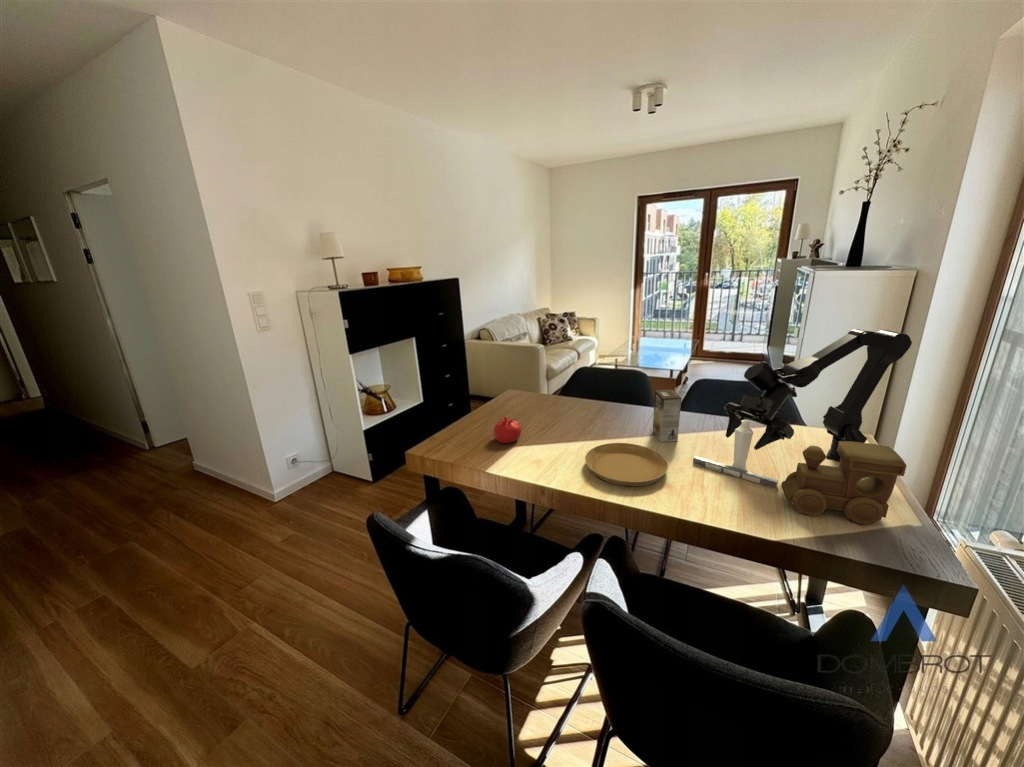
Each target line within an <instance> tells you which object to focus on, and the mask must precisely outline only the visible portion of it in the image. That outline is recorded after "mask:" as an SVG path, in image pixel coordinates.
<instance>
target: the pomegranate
mask: <svg viewBox="0 0 1024 767" xmlns="http://www.w3.org/2000/svg"><path fill="white" fill-rule="evenodd" d="M509 418H510V417H508V416H503V419H502V418H499V421H497V423H496V424H495V425H494V428H493V436H494V438H495V440H496V441H497V442H499V443H501V444H510V443H513V442H516V441H517V440H519V439H520V436H521V433H522V427H521V425H520V423H519V422H518V421H516V419H514V418H511V419H509Z"/></svg>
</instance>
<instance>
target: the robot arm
mask: <svg viewBox="0 0 1024 767" xmlns="http://www.w3.org/2000/svg"><path fill="white" fill-rule="evenodd" d="M912 342H913V340H911V336H909V335H908V334H906V333H903V332H898V331H893V330H889V329H880V330H878V331H870V330H864V329H863V330H862V329H859V328H856V329H855V328H854V329H851V330H850V331H848V332H847V334H845V335H843V336H841V337H840V338H838V339H836V340H835V341H833V342H832V343H829V345H827V346H825V347H824V348H822V349H820V350H818V351H817V352H815V353H814V354H812V355H811V356H808V357H804V358H799V359H796V360H794V361H792V362H790V363H786V364H785V365H784V366H781V367H776V368H772V367H771V366H770V364H768V363H767V362H766V361H764V360H761V361H760V363H757V364H754V365H751V366H750V367H748V368H747V369H746V370H745V372H744V373H743V377H744V380H747V382H749V383H750V384H751V385H752V386H753V387H755V389H757V390H758V391H763V393H761V395H755V397H754V396H751V395H748V394H744V395H743V397H742V399H741V402H740V404H737V403H734V402H728V403H726V404H725V406H724V407H723V409H724V411H725V413H726V414H727V415H728V424H727V428H726V432H725V437H726V438H729V437H731V436H732V435H733V433H734V434H735V429H736V428H738V427H741V423H742V422H741V421H742V420H746V419H747V420H748V421H752V422H756V423H758V424H761V425H763V426H766V427H765V429H764V432H763V434H762V435H761V437H760V438H759V439H758V440H757V442H756V444H755V445H754V446H753V449H754V450H755V451H758V450H760V449H762V448H763V447H766V446H767V445H769V444H772V443H774V442H777V441H779V440H785V439H788V440H791V439H792V437H793V436H794V434H795V431H794V430H795V429H794V428H793V426H792V425H791V424H790V423H789V421H787V420H784V419H781V418H779V417H775V415H776V414H780V413H781V412H782V410H781V407H782V405H783V404H784V403H785V401H786V400H787V399H788V397H790V398H797V397H798V394H797V392H796V388H805V387H808V386H809V385H810V384H812V383H814V381H815V380H817V378H819V375H820V374H821V372H823V371H824V370H825V369H827V368H829V366H831V365H834V364H835V363H837V362H838V361H840V360H842V359H844V358H846V357H847V356H849V355H850V354H852V353H853V352H855V351H857V350H859V349H861V348H862V347H864V346H866V353H867V357H866V358H867V359H866V361H865V362H864V365H863V366H862V368H861V369H860V371H859V373H858V374H857V376H856V378H855V379H854V382H853V383H852V384H851V387H850V388H849V390H848V392H847V393H846V395H845V397H844V399H843V400H842V402H841V403H840V404H838V405H837V406H835V407H834V406H832V405H830V406H829V407H828V409H827V411H826V413H825V414H824V415H823V416H822V418H823V421H822V424H823V426H824V428H825V429H826V432H827V434H829V435H831V436H832V439H831V445H830V448H829V450H828V451H827V453H826V454H825V455H826V458H827V459H831V460H835V461H838V462H840V458H841V457H840V456H839V454H838V452H837V447H838V442H839V441H849V442H860V443H866V441H867V440H868V437H866V435H865V434H864V433H862V431H861V430H860V429H861V426H862V423H863V413H862V411H863V409H864V408H865V406H866V405H867V403H868V401H869V399H870V398H871V396H872V395H873V393H874V392H875V389H876V388H877V386H878V385H879V382H880V381H881V380H882V378H883V377H884V375H885V373H886V371H887V370H888V368H889V367H890V366H891V365H892V364H894V363H896V362H897V361H899V360H901V359H902V358H903V357H904V356H905V354H906V353H907V352H908V350H910V348H911V346H912V344H913V343H912ZM789 384H790V385H792V386H794V387H790V385H789ZM742 406H744V407H745V409H746V410H747V411H745V409H744V408H743V407H742Z"/></svg>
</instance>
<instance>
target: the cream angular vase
mask: <svg viewBox="0 0 1024 767" xmlns="http://www.w3.org/2000/svg"><path fill="white" fill-rule="evenodd" d="M741 422H742V423H741V425H740V426H739V427H738V428H736V429H735V432H734V441H733V442H734V445H733V448H734V449H733V463H732V465H731V466H732V467H736V468H739V469H742V470H746V471H747V466H746V465H747V462H748V456H749V451H750V448H751V444H752V439H753V435H754V431H753V430H752V428H750V427H749V426H750V420H749V419H747V420H746V419H744V420H742V421H741Z"/></svg>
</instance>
